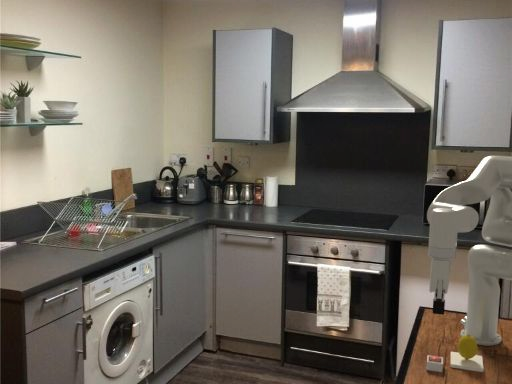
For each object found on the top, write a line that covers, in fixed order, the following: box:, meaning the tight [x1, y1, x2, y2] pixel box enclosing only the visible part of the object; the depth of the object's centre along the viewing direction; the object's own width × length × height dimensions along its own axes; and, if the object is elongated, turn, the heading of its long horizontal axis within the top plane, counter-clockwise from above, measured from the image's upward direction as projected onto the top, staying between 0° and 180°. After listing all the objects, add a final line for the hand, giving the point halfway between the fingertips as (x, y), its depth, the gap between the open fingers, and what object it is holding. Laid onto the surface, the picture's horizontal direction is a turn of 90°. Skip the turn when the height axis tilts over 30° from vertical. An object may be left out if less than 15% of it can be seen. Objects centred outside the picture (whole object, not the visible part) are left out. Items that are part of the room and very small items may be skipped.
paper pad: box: [450, 351, 484, 373], centre depth 168 cm, size 9×9×1 cm
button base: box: [426, 354, 444, 373], centre depth 165 cm, size 4×4×3 cm
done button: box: [430, 355, 440, 363], centre depth 165 cm, size 3×3×2 cm
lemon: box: [457, 334, 478, 360], centre depth 168 cm, size 6×6×8 cm
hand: (438, 313), depth 163 cm, fingers closed
